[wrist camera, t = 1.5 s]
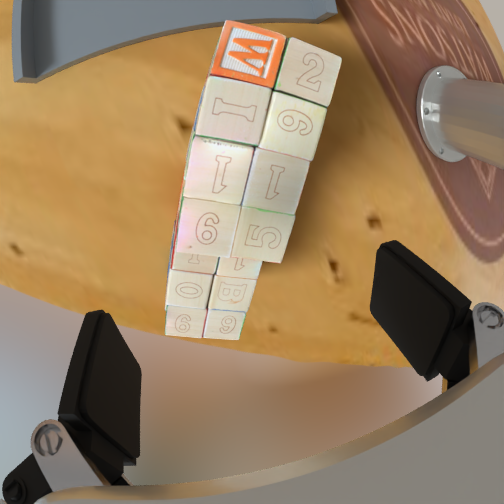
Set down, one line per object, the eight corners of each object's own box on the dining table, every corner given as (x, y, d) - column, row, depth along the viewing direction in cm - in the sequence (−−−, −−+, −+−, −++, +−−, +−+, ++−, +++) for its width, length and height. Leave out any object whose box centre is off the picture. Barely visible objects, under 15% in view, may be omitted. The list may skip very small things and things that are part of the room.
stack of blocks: (224, 280, 31) (245, 369, 20) (166, 273, 29) (160, 364, 18) (278, 76, 22) (346, 56, 11) (210, 59, 20) (226, 15, 10)
